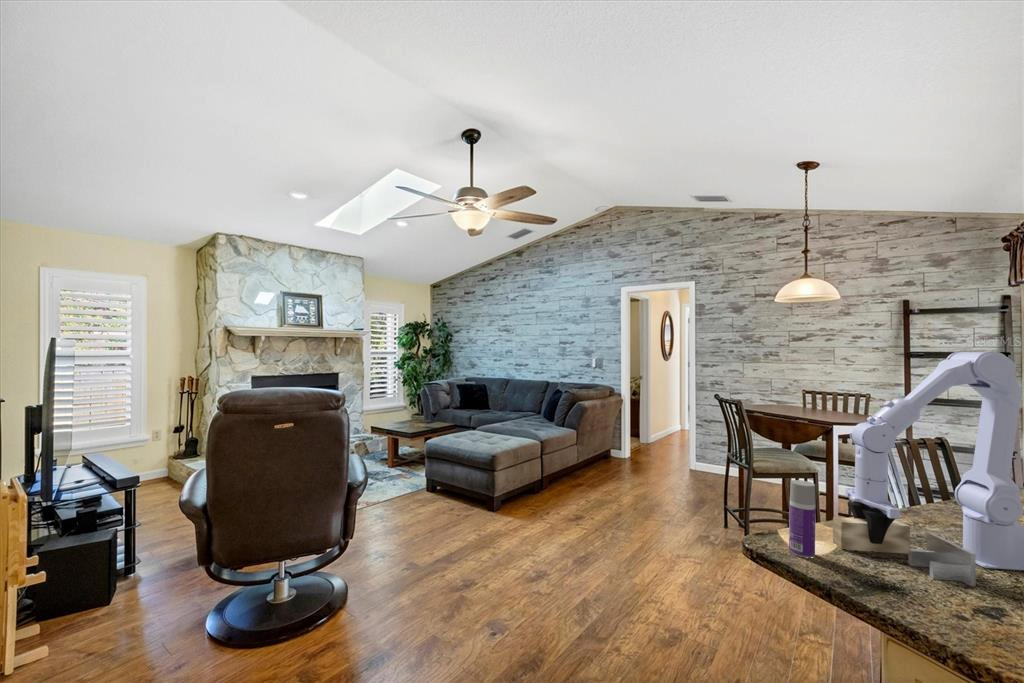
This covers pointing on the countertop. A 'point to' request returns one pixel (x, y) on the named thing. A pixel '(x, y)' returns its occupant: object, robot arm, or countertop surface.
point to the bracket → (945, 560)
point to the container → (802, 518)
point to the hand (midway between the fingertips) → (870, 539)
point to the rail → (857, 536)
